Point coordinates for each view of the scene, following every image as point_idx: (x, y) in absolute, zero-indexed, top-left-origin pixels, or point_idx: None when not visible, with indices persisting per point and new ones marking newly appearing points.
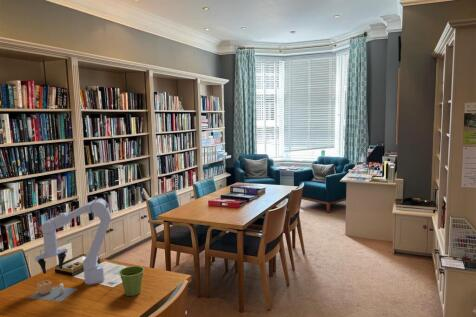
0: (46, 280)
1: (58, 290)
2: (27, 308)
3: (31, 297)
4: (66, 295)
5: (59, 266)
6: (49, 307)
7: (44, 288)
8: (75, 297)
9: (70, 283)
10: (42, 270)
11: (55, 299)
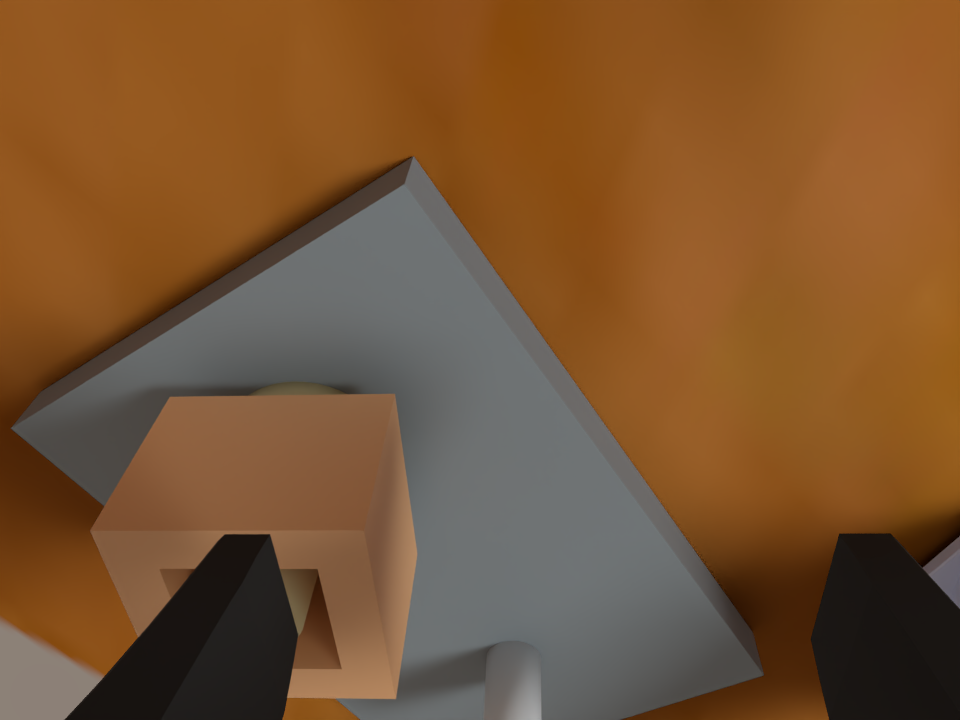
0: (321, 561)
1: (522, 533)
2: (52, 578)
3: (78, 458)
4: (545, 716)
5: (852, 610)
6: (305, 710)
7: None
8: (637, 714)
9: (886, 278)
10: (174, 610)
11: (390, 714)
